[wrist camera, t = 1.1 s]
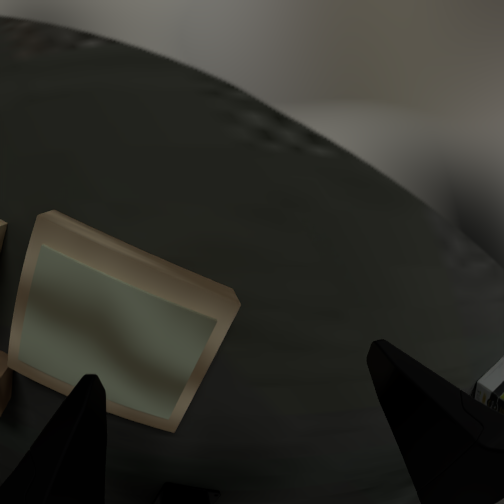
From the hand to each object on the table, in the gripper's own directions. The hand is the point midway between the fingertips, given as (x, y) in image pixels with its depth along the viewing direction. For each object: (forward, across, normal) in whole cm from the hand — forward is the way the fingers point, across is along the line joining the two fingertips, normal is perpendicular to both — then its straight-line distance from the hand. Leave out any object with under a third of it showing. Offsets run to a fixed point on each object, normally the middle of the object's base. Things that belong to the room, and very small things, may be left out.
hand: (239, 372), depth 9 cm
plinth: (+11, +8, +8) cm, 16 cm away
